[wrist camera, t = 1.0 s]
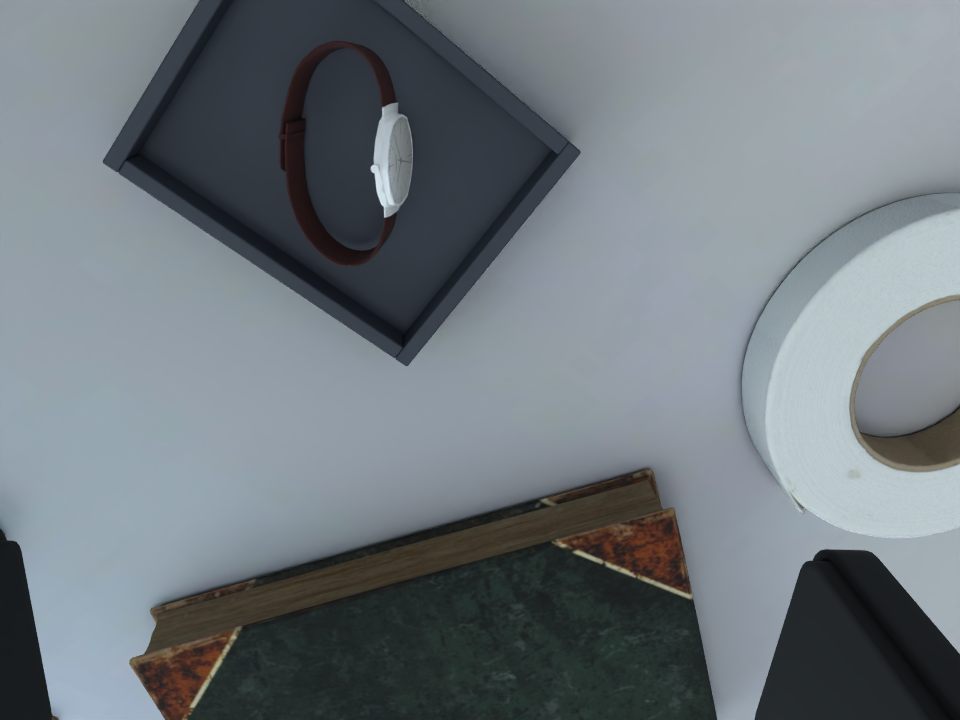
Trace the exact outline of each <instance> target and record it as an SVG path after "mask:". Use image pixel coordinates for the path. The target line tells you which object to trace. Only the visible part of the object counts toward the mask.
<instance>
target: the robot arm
mask: <svg viewBox="0 0 960 720" xmlns="http://www.w3.org/2000/svg"><path fill="white" fill-rule="evenodd" d="M0 720H52V714H51V706H50V701H49V696H48V690H47V685H46V680H45V674H44V669H43V664H42V658H41V653H40V648H39V643H38V637H37V632H36V627H35V621H34V616H33V611H32V605H31V600H30V595H29V589H28V584H27V579H26V573H25V568H24V563H23V558H22V552H21V549H20V546H19V545H18V543H17V542H15V541H7V540H6V537H5V534H4V533H3V532H2V530H1V529H0ZM755 720H960V654H959V653H958V652H957V650H956V649H955V648H954V647H953V646H952V645H951V643H950V642H949V641H948V640H947V639H946V638H945V636H944V635H943V634H942V633H941V632H940V630H939V629H938V628H937V627H936V626H935V625H934V623H933V622H932V621H931V620H930V619H929V617H928V616H927V615H926V614H925V613H924V612H923V610H922V609H921V608H920V607H919V606H918V605H917V603H916V602H915V601H914V600H913V599H912V597H911V596H910V595H909V594H908V593H907V592H906V590H905V589H904V588H903V587H902V586H901V584H900V583H899V582H898V581H897V580H896V579H895V577H894V576H893V575H892V574H891V573H890V572H889V570H888V569H887V568H886V567H885V566H884V564H883V563H882V562H881V561H880V560H879V559H878V558H877V557H876V556H875V555H874V554H873V553H872V552H869V551H865V550H829V549H825V550H821V551H819V552H818V553H817V554H816V555H815V557H814V559H813V561H807V562H805V563H804V564H803V566H802V568H801V570H800V573H799V576H798V579H797V583H796V586H795V589H794V592H793V596H792V599H791V602H790V605H789V608H788V612H787V615H786V618H785V621H784V624H783V628H782V631H781V634H780V637H779V641H778V644H777V647H776V650H775V653H774V657H773V660H772V663H771V666H770V670H769V673H768V676H767V679H766V682H765V686H764V689H763V692H762V695H761V698H760V702H759V705H758V708H757V711H756V715H755Z"/></svg>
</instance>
